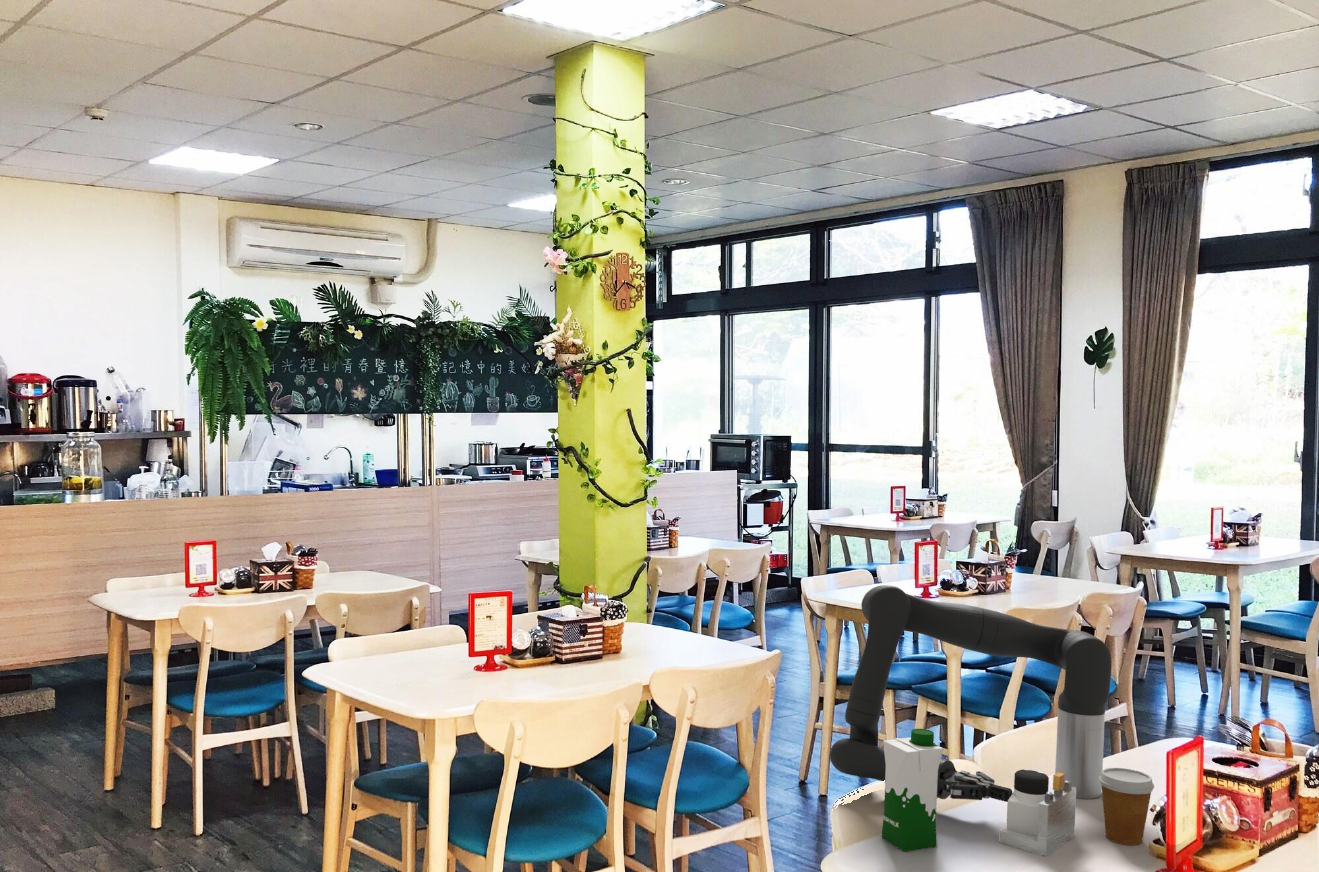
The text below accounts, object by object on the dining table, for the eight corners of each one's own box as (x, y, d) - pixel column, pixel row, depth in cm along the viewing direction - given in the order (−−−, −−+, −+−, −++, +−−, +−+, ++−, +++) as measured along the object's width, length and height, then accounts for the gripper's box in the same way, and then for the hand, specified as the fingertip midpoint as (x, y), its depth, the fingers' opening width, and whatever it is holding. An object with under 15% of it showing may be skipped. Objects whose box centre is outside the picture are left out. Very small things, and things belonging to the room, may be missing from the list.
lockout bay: (1029, 823, 215) (1032, 757, 215) (1074, 835, 210) (1077, 767, 209) (999, 842, 204) (1002, 773, 204) (1045, 856, 199) (1048, 784, 199)
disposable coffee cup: (1127, 852, 202) (1130, 785, 202) (1085, 833, 211) (1088, 770, 211) (1163, 844, 207) (1166, 779, 206) (1120, 827, 215) (1123, 764, 215)
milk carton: (944, 848, 201) (948, 737, 200) (901, 854, 197) (906, 741, 197) (914, 831, 209) (918, 724, 208) (873, 836, 205) (877, 728, 205)
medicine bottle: (1046, 846, 203) (1049, 780, 203) (1005, 838, 207) (1008, 773, 207) (1052, 834, 210) (1054, 770, 210) (1012, 826, 213) (1015, 763, 213)
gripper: (910, 762, 216) (996, 783, 205) (941, 748, 227) (1025, 768, 215) (909, 801, 217) (995, 824, 205) (940, 785, 227) (1023, 807, 216)
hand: (1010, 795), depth 210 cm, fingers closed
